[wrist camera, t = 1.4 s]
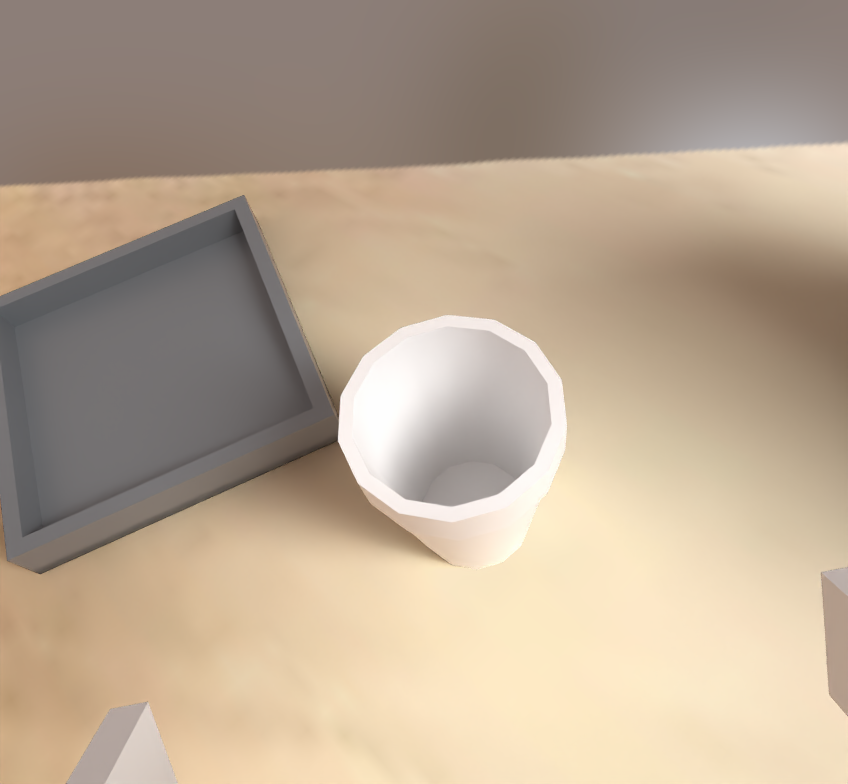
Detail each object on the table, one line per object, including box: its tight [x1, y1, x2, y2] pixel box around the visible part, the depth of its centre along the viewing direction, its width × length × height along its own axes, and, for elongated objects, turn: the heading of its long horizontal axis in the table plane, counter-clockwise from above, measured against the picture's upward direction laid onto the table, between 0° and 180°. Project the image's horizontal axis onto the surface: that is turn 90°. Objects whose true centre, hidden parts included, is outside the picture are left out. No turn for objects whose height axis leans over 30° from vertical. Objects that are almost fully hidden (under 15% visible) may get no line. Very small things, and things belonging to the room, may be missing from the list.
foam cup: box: [338, 315, 567, 569], centre depth 34 cm, size 10×9×13 cm
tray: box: [0, 195, 339, 574], centre depth 46 cm, size 20×20×3 cm
